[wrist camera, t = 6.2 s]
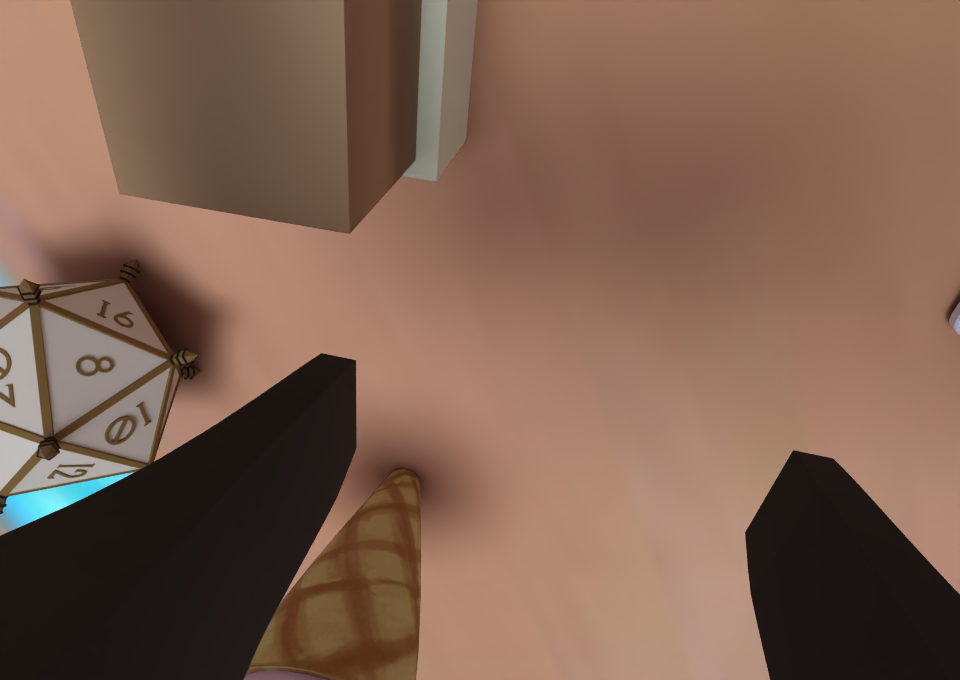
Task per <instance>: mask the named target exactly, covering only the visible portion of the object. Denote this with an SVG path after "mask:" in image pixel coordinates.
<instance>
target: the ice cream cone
mask: <svg viewBox="0 0 960 680" xmlns="http://www.w3.org/2000/svg"><path fill="white" fill-rule="evenodd" d="M420 601H421V516H420V480H419V478H418V477H417V475H416V474H415V473H413V472H412V471H409V470H407V469H398V470H395V471H393V472H392V473H391V474H390V475H389V476H388V477H387V478H386V479H385V481H384V482H383V483H382V484H381V485H380V486H379V487H378V488H377V490H376V491H375V492H374V493H373V494H372V495H371V496H370V497H369V498H368V500H367V501H366V502H365V503H364V504H363V505H362V506H361V507H360V509H359V510H358V511H357V512H356V513H355V514H354V515H353V516H352V518H351V519H350V520H349V521H348V522H347V523H346V524H345V525H344V527H343V528H342V529H341V530H340V531H339V532H338V534H337V535H336V536H335V537H334V538H333V539H332V541H331V542H330V543H329V544H328V545H327V546H326V548H325V549H324V550H323V551H322V552H321V554H320V555H319V556H318V557H317V558H316V559H315V561H314V562H313V563H312V564H311V565H310V567H309V568H308V569H307V570H306V572H305V573H304V574H303V575H302V577H301V578H300V579H299V580H298V582H297V583H296V584H295V585H294V587H293V588H292V589H291V590H290V592H289V593H288V594H287V595H286V597H285V598H284V599H283V600H282V602H281V603H280V604H279V606H278V608H277V610H276V611H275V613H274V615H273V617H272V619H271V621H270V623H269V625H268V627H267V629H266V631H265V633H264V635H263V637H262V639H261V641H260V643H259V645H258V648H257V650H256V652H255V654H254V657H253V659H252V661H251V664H250V666H249V668H248V671H247V673H246V675H245V678H244V680H416V673H417V661H418V648H419V624H420Z"/></svg>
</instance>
